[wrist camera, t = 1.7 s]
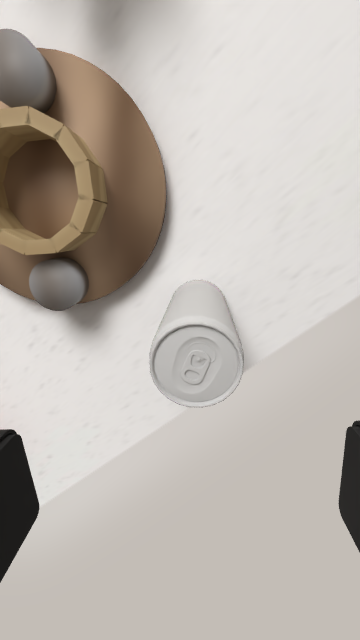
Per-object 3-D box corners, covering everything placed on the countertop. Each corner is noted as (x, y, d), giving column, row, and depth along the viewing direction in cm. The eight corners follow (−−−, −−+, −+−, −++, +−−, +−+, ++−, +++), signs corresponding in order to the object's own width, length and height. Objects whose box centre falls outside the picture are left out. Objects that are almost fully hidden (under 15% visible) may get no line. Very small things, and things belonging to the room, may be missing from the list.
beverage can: (234, 290, 25) (263, 342, 13) (212, 339, 26) (222, 423, 15) (182, 270, 24) (166, 304, 13) (163, 320, 26) (133, 390, 14)
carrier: (155, 42, 20) (143, -6, 16) (174, 295, 25) (169, 308, 21) (-83, 73, 22) (-147, 38, 18) (-18, 306, 27) (-56, 319, 23)
